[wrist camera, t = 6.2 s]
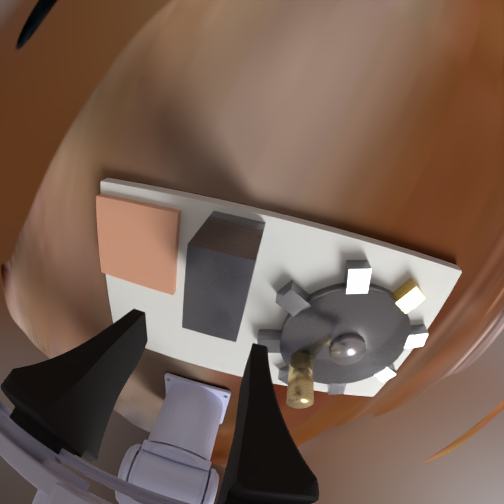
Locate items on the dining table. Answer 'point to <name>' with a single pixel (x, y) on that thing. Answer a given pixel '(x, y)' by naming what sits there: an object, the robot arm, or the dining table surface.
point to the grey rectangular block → (220, 274)
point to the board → (264, 278)
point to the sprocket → (342, 333)
